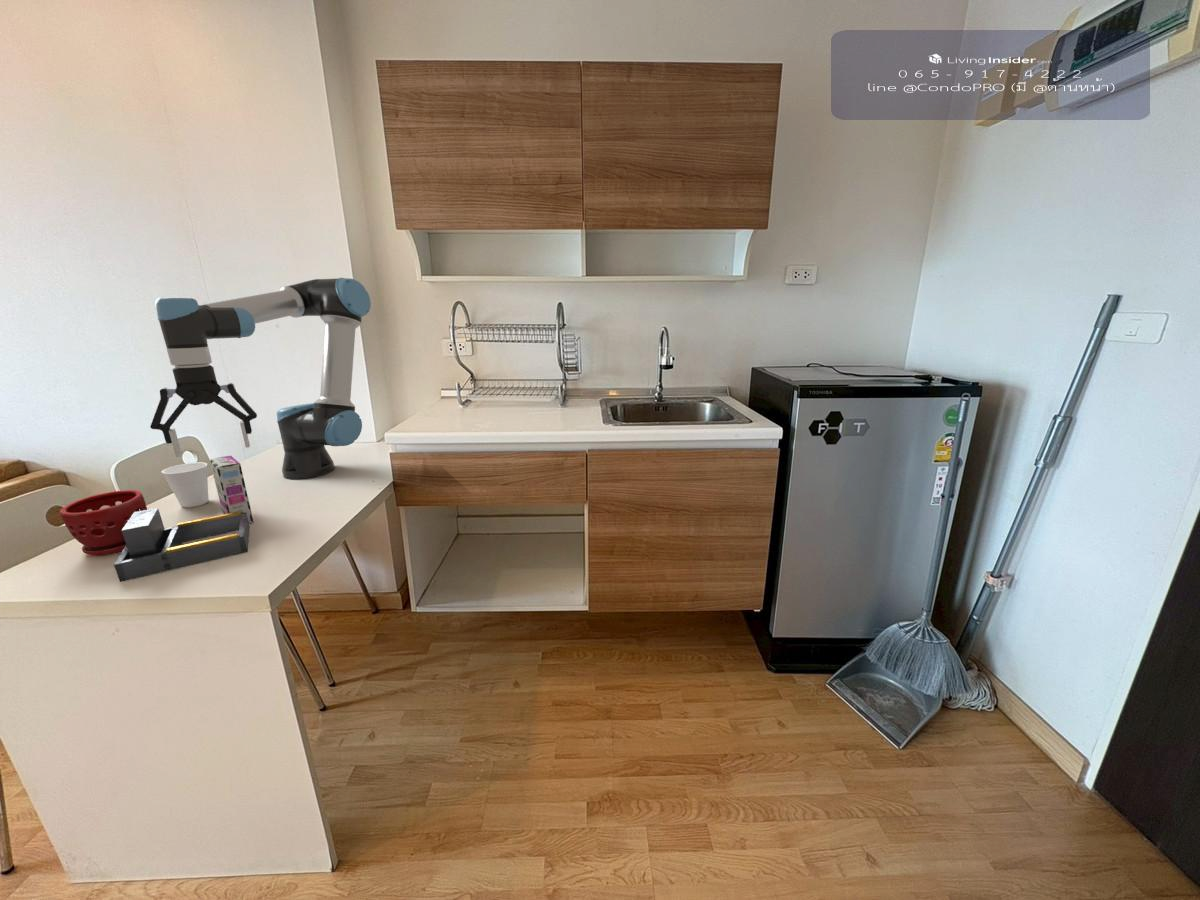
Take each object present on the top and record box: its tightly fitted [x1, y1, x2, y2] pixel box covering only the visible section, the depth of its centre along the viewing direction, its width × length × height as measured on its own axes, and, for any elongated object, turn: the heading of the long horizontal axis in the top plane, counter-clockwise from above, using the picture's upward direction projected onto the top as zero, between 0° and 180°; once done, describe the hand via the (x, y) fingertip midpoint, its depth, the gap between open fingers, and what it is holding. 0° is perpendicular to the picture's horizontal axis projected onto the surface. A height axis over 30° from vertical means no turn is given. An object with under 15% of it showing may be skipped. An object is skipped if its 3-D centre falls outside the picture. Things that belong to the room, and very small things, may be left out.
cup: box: [161, 461, 210, 509], centre depth 131 cm, size 10×10×11 cm
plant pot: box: [59, 489, 148, 557], centre depth 106 cm, size 13×13×12 cm
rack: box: [113, 507, 251, 583], centre depth 104 cm, size 21×16×10 cm
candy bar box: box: [209, 455, 255, 525], centre depth 120 cm, size 11×5×16 cm, turn 47°
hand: (214, 451), depth 117 cm, fingers open, 13 cm apart
